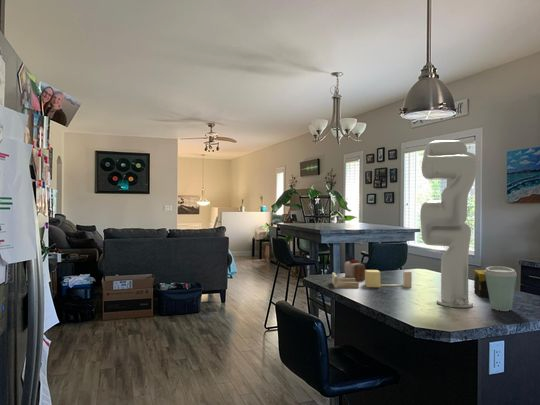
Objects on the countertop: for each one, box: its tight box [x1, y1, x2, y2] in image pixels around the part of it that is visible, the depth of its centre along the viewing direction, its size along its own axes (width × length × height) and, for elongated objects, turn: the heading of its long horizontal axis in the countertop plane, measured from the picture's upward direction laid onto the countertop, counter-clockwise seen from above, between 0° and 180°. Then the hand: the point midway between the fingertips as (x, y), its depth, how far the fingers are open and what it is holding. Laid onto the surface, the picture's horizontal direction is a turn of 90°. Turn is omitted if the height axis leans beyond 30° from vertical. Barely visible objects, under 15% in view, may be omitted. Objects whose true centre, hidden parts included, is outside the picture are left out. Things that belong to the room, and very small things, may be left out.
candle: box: [473, 269, 490, 299], centre depth 170 cm, size 10×10×10 cm
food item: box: [343, 259, 366, 282], centre depth 207 cm, size 14×8×10 cm, turn 12°
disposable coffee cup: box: [484, 265, 518, 312], centre depth 147 cm, size 11×11×15 cm
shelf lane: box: [331, 272, 360, 289], centre depth 189 cm, size 11×11×5 cm
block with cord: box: [364, 269, 413, 288], centre depth 188 cm, size 6×20×7 cm, turn 86°
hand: (455, 227), depth 178 cm, fingers open, 9 cm apart
